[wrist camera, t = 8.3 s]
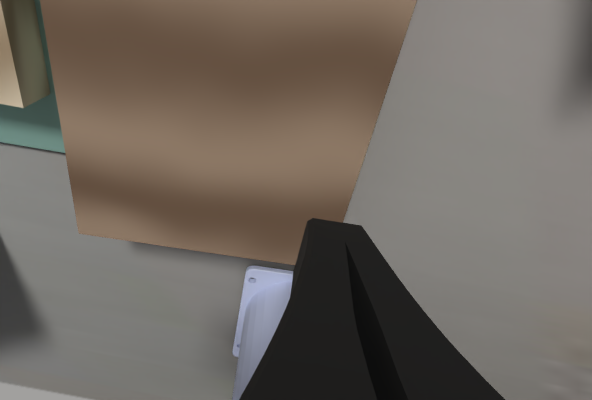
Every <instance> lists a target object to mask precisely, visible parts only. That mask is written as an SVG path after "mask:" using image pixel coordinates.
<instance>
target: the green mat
mask: <svg viewBox="0 0 592 400" xmlns="http://www.w3.org/2000/svg"><path fill="white" fill-rule="evenodd" d="M34 1H35V7H36V13H37V19H38V24H39V30H40V36H41V42H42V48H43V54H44V60H45V65H46V71H47V77H48V83H49V89H50V95H48V96H46V97H44V98H42V99H40V100H38V101H36V102H34V103H32V104H30V105H28V106H26V107H25V108H21V107H15V106H10V105H4V104H0V142H3V143H9V144H15V145H21V146H27V147H33V148H39V149H45V150H51V151H57V152H63V153H65V148H64V142H63V136H62V130H61V124H60V118H59V112H58V106H57V100H56V94H55V88H54V82H53V76H52V70H51V64H50V58H49V52H48V46H47V40H46V34H45V28H44V22H43V16H42V10H41V4H40V0H34Z"/></svg>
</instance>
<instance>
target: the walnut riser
mask: <svg viewBox="0 0 592 400" xmlns="http://www.w3.org/2000/svg"><path fill="white" fill-rule="evenodd" d="M416 2H417V0H40V4H41V10H42V16H43V22H44V28H45V34H46V40H47V46H48V52H49V58H50V64H51V70H52V76H53V82H54V88H55V94H56V100H57V106H58V112H59V118H60V124H61V130H62V136H63V142H64V148H65V154H66V160H67V166H68V172H69V178H70V184H71V190H72V196H73V202H74V208H75V214H76V220H77V226H78V232H79V234H85V235H92V236H99V237H106V238H113V239H119V240H126V241H133V242H140V243H147V244H154V245H160V246H167V247H174V248H181V249H188V250H194V251H201V252H208V253H215V254H222V255H229V256H235V257H242V258H249V259H256V260H263V261H269V262H276V263H283V264H290V265H295V264H296V260H297V257H298V253H299V249H300V246H301V242H302V238H303V235H304V231H305V227H306V224H307V221H308V220H310V219H312V218H316V219H323V220H329V221H335V222H341V223H343V220H344V217H345V214H346V211H347V208H348V205H349V202H350V199H351V196H352V193H353V190H354V187H355V184H356V181H357V178H358V175H359V172H360V169H361V166H362V163H363V160H364V157H365V154H366V151H367V148H368V145H369V142H370V139H371V136H372V133H373V130H374V127H375V124H376V121H377V118H378V115H379V113H380V110H381V107H382V104H383V101H384V98H385V95H386V92H387V89H388V86H389V83H390V80H391V77H392V74H393V71H394V68H395V65H396V62H397V59H398V56H399V53H400V50H401V47H402V44H403V41H404V38H405V35H406V32H407V29H408V26H409V23H410V20H411V17H412V14H413V11H414V8H415V5H416Z"/></svg>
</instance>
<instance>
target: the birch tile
mask: <svg viewBox="0 0 592 400" xmlns="http://www.w3.org/2000/svg"><path fill="white" fill-rule="evenodd" d="M48 95H50V89H49V83H48V77H47V71H46V65H45V60H44V54H43V48H42V42H41V36H40V30H39V24H38V19H37V13H36V7H35V1H34V0H0V104H4V105H10V106H15V107H21V108H25V107H26V106H28V105H30V104H32V103H34V102H36V101H38V100H40V99H42V98H44V97H46V96H48Z"/></svg>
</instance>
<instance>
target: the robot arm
mask: <svg viewBox="0 0 592 400" xmlns="http://www.w3.org/2000/svg"><path fill="white" fill-rule="evenodd" d="M251 278H255V279H251ZM232 353H233V355H234V356H236V357H238V363H237V370H236V376H235V383H234V390H233V397H232V400H505V399H504V398H503V397H502V396H501V395H500V394H499V393H498V392H497V391H496V390H495V389H494V388H493V387H492V386H491V385H490V384H489V383H488V382H487V381H486V380H485V379H484V378H483V377H482V376H481V375H480V374H479V373H478V372H477V371H476V370H475V369H474V367H473V366H472V365H471V364H470V363H469V362H468V361H467V360H466V359H465V358H464V357H463V356H462V355H461V354H460V353H459V352H458V351H457V349H456V348H455V347H454V346H453V345H452V344H451V343H450V342H449V340H448V339H447V338H446V337H445V336H444V335H443V334H442V332H441V331H440V330H439V329H438V328H437V326H436V325H435V324H434V323H433V322H432V320H431V319H430V318H429V317H428V316H427V314H426V313H425V312H424V311H423V310H422V308H421V307H420V306H419V304H418V303H417V302H416V301H415V299H414V298H413V297H412V296H411V294H410V293H409V292H408V290H407V289H406V288H405V286H404V285H403V284H402V282H401V281H400V280H399V278H398V277H397V276H396V274H395V273H394V271H393V270H392V269H391V267H390V266H389V264H388V263H387V262H386V260H385V259H384V257H383V256H382V254H381V253H380V252H379V250H378V249H377V247H376V246H375V244H374V243H373V242H372V240H371V239H370V237H369V236H368V234H367V233H366V231H365V230H364V229H363V227H362V226H360V225H354V224H348V223H341V222H335V221H329V220H323V219H316V218H312V219H310V220H308V221H307V224H306V227H305V231H304V235H303V238H302V242H301V246H300V249H299V253H298V257H297V260H296V264H295V268H294V271H289V270H282V269H275V268H268V267H261V266H249V267H248V268H247V269H246V274H245V280H244V286H243V292H242V298H241V304H240V310H239V316H238V322H237V328H236V334H235V340H234V346H233V352H232Z"/></svg>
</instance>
